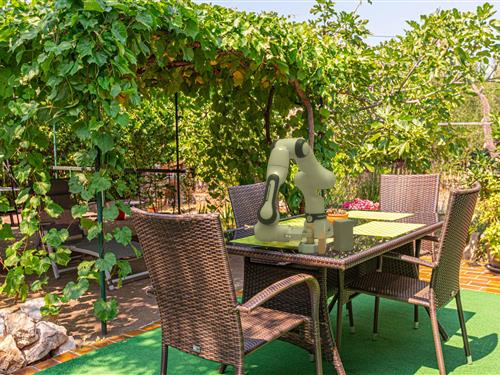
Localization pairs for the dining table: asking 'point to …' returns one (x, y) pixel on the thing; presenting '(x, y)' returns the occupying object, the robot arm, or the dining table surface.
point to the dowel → (310, 230)
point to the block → (308, 247)
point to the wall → (322, 243)
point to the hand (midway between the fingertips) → (312, 233)
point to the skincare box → (343, 235)
